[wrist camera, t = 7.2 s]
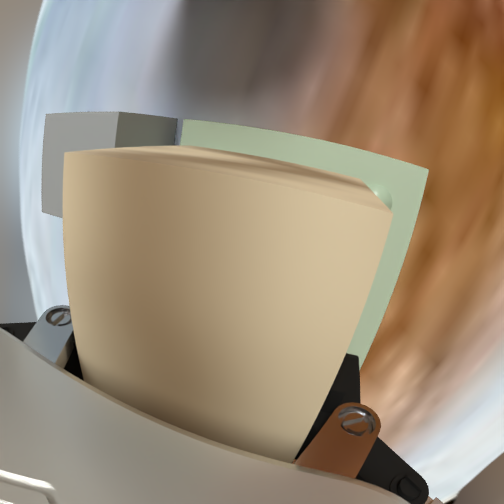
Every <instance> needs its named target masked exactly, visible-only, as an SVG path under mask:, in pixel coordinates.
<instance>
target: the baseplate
mask: <svg viewBox="0 0 504 504" xmlns="http://www.w3.org/2000/svg"><path fill="white" fill-rule="evenodd" d="M188 145H190V146H198V147H205V148H212V149H218V150H225V151H231V152H237V153H243V154H249V155H254V156H260V157H265V158H270V159H276V160H281V161H286V162H290V163H295V164H300V165H305V166H309V167H314V168H318V169H322V170H327V171H331V172H335V173H339V174H343V175H347V176H351V177H355V178H359V179H361V180H362V181H363V182H364V183H365V184H366V185H367V186H368V187H369V188H370V189H371V190H372V191H373V193H374V194H375V195H376V196H377V197H378V198H379V199H380V200H381V201H382V202H383V203H384V204H385V205H386V206H387V207H388V208H389V209H390V210H391V211H392V213H393V218H392V222H391V225H390V229H389V232H388V236H387V239H386V243H385V246H384V249H383V253H382V256H381V259H380V262H379V265H378V268H377V271H376V274H375V278H374V280H373V283H372V286H371V289H370V292H369V295H368V298H367V301H366V303H365V306H364V309H363V312H362V314H361V317H360V320H359V322H358V325H357V327H356V330H355V332H354V335H353V337H352V340H351V342H350V345H349V347H348V350H347V352H346V353H348V354H353V355H357V356H358V357H359V370H360V368H361V366H362V364H363V362H364V360H365V357H366V355H367V353H368V351H369V349H370V346H371V344H372V342H373V340H374V337H375V335H376V333H377V330H378V328H379V326H380V323H381V321H382V318H383V316H384V313H385V311H386V308H387V306H388V303H389V300H390V298H391V295H392V293H393V290H394V287H395V284H396V282H397V279H398V276H399V273H400V270H401V267H402V264H403V261H404V258H405V255H406V252H407V249H408V246H409V243H410V239H411V236H412V233H413V229H414V226H415V223H416V219H417V215H418V212H419V208H420V204H421V200H422V196H423V192H424V188H425V184H426V180H427V175H428V171H429V170H428V169H425V168H422V167H419V166H416V165H413V164H410V163H407V162H403V161H400V160H397V159H393V158H390V157H387V156H383V155H380V154H376V153H372V152H369V151H365V150H361V149H357V148H353V147H349V146H345V145H341V144H337V143H332V142H328V141H324V140H319V139H314V138H310V137H305V136H300V135H295V134H289V133H284V132H278V131H273V130H267V129H261V128H254V127H248V126H241V125H234V124H226V123H218V122H209V121H200V120H190V119H184V121H183V128H182V134H181V141H180V146H188Z"/></svg>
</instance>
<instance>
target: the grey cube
mask: <svg viewBox="0 0 504 504" xmlns="http://www.w3.org/2000/svg"><path fill="white" fill-rule="evenodd" d="M176 126H177V119H176V118H169V117H161V116H154V115H145V114H136V113H127V112H73V113H55V114H46V119H45V128H44V140H43V155H42V212H43V213H47V214H50V215H53V216H57V217H60V218H63V167H64V152H72V151H82V150H94V149H106V148H122V147H142V146H174V140H175V133H176Z"/></svg>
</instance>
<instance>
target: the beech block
mask: <svg viewBox="0 0 504 504" xmlns="http://www.w3.org/2000/svg"><path fill="white" fill-rule="evenodd" d="M392 218H393V213H392V211H391V210H390V209H389V208H388V207H387V206H386V205H385V204H384V203H383V202H382V201H381V200H380V199H379V198H378V197H377V196H376V195H375V194H374V193H373V191H372V190H371V189H370V188H369V187H368V186H367V185H366V184H365V183H364V182H363V181H362V180H361V179H359V178H355V177H351V176H347V175H343V174H339V173H335V172H331V171H327V170H322V169H318V168H314V167H309V166H305V165H300V164H295V163H290V162H286V161H281V160H276V159H270V158H265V157H260V156H254V155H249V154H243V153H237V152H231V151H225V150H218V149H212V148H205V147H198V146H190V145H188V146H142V147H122V148H106V149H94V150H82V151H72V152H64V167H63V240H64V257H65V269H66V280H67V289H68V297H69V305H70V312H71V318H72V325H73V330H74V336H75V342H76V347H77V352H78V357H79V361H80V366H81V370H82V374H83V378H84V382H86V383H88V384H90V385H91V386H93V387H95V388H97V389H99V390H100V391H102V392H104V393H106V394H108V395H110V396H112V397H114V398H115V399H117V400H119V401H121V402H123V403H125V404H127V405H129V406H131V407H133V408H136V409H138V410H140V411H142V412H144V413H146V414H148V415H150V416H153V417H155V418H157V419H159V420H162V421H164V422H166V423H169V424H171V425H174V426H176V427H178V428H181V429H183V430H186V431H188V432H191V433H194V434H196V435H199V436H202V437H204V438H207V439H210V440H213V441H216V442H218V443H221V444H224V445H227V446H230V447H234V448H237V449H240V450H243V451H247V452H250V453H253V454H257V455H260V456H264V457H267V458H271V459H275V460H279V461H282V462H286V463H290V464H292V462H293V460H294V459H295V457H296V455H297V453H298V452H299V450H300V448H301V446H302V444H303V442H304V441H305V439H306V437H307V435H308V433H309V431H310V429H311V427H312V425H313V423H314V421H315V419H316V417H317V415H318V413H319V411H320V409H321V407H322V405H323V403H324V401H325V399H326V397H327V395H328V393H329V391H330V388H331V386H332V384H333V382H334V380H335V377H336V375H337V373H338V371H339V368H340V366H341V364H342V362H343V359H344V357H345V355H346V352H347V350H348V347H349V345H350V342H351V340H352V337H353V335H354V332H355V330H356V327H357V325H358V322H359V320H360V317H361V314H362V312H363V309H364V306H365V303H366V301H367V298H368V295H369V292H370V289H371V286H372V283H373V280H374V278H375V274H376V271H377V268H378V265H379V262H380V259H381V256H382V253H383V249H384V246H385V243H386V239H387V236H388V232H389V229H390V225H391V222H392Z"/></svg>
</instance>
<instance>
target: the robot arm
mask: <svg viewBox="0 0 504 504" xmlns="http://www.w3.org/2000/svg"><path fill="white" fill-rule="evenodd" d="M380 428H381V423H380V419H379V417H378V415H377V414H376V413H375V412H374V411H373V410H372V409H370V408H369V407H367V406H365V405H362V404H360V372H359V357H358V356H357V355H353V354H348V353H346V355H345V357H344V359H343V362H342V364H341V366H340V368H339V371H338V373H337V375H336V377H335V380H334V382H333V384H332V386H331V388H330V391H329V393H328V395H327V397H326V399H325V401H324V403H323V405H322V407H321V409H320V411H319V413H318V415H317V417H316V419H315V421H314V423H313V425H312V427H311V429H310V431H309V433H308V435H307V437H306V439H305V441H304V442H303V444H302V446H301V448H300V450H299V452H298V453H297V455H296V457H295V459H296V461H295V463H294V464H290V463H286V462H282V461H279V460H275V459H271V458H267V457H264V456H260V455H257V454H253V453H250V452H247V451H243V450H240V449H237V448H234V447H230V446H227V445H224V444H221V443H218V442H216V441H213V440H210V439H207V438H204V437H202V436H199V435H196V434H194V433H191V432H188V431H186V430H183V429H181V428H178V427H176V426H174V425H171V424H169V423H166V422H164V421H162V420H159V419H157V418H155V417H153V416H150V415H148V414H146V413H144V412H142V411H140V410H138V409H136V408H133V407H131V406H129V405H127V404H125V403H123V402H121V401H119V400H117V399H115V398H114V397H112V396H110V395H108V394H106V393H104V392H102V391H100V390H99V389H97V388H95V387H93V386H91V385H90V384H88V383H86V382H84V378H83V374H82V370H81V366H80V361H79V357H78V352H77V347H76V342H75V336H74V330H73V325H72V318H71V312H70V306H65V305H60V306H54V307H51V308H49V309H48V310H46V311H45V312H44V313H43V314H42V316H41V317H40V318H39V320H38V321H37V322H32V323H31V322H29V323H9V324H0V504H444V503H442V502H441V501H440V500H439V499H438V498H437V497H436V498H435V499H434V500H432V499H431V498H430V497H429V496H428V495H429V489H428V485H427V483H426V481H425V480H424V479H423V478H422V476H420V475H419V474H418V473H417V472H416V471H415V470H414V469H413V468H411V467H410V466H409V465H408V464H407V463H406V462H405V461H404V460H403V459H401V458H400V457H399V456H398V455H397V454H396V453H395V452H394V451H393V450H392V449H390V448H389V447H388V446H387V445H386V444H385V443H384V442H383V441H382V440H381V439H380V438H379V437H377V436H378V434H379V432H380Z"/></svg>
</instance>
